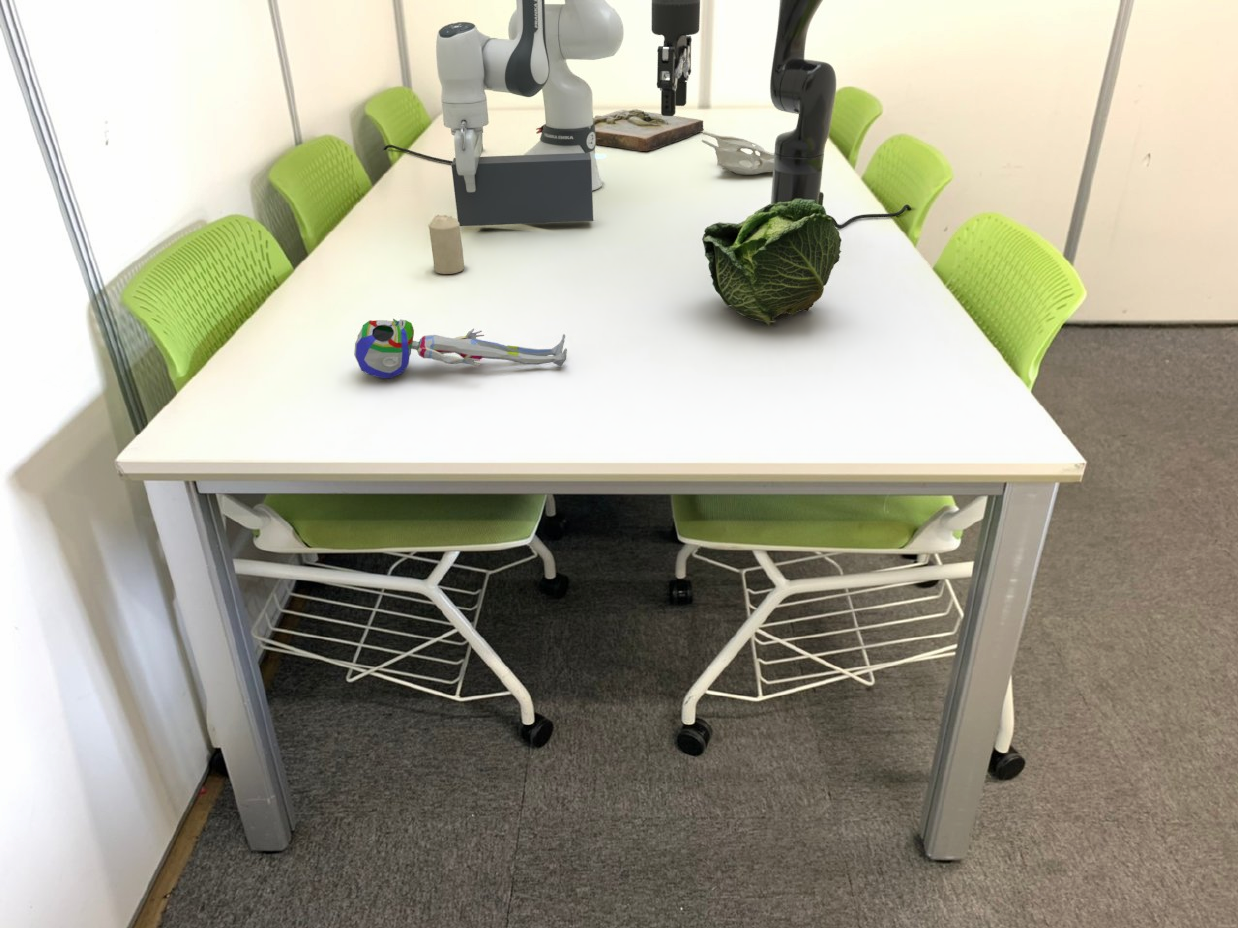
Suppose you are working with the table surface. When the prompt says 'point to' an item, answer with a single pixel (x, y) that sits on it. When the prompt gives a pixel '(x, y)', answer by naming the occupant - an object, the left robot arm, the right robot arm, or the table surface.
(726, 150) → the anatomical model
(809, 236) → the vegetable
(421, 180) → the table surface
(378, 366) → the toy
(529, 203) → the box
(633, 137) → the plaque
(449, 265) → the candle
